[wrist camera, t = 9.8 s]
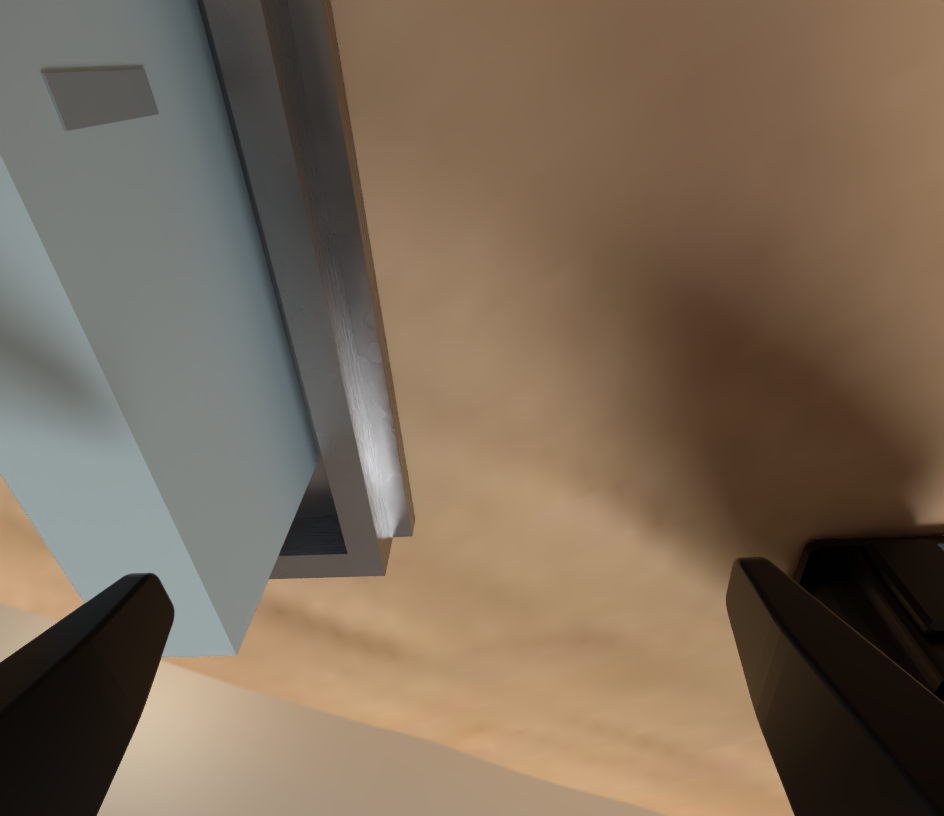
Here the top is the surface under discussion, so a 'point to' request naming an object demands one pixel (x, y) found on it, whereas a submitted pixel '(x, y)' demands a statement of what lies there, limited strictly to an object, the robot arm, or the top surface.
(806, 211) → the top surface
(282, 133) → the floor track
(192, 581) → the door panel
